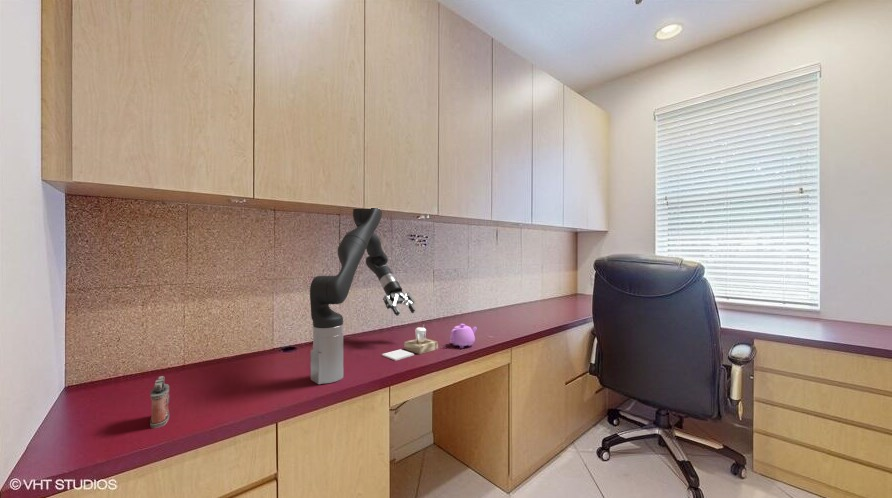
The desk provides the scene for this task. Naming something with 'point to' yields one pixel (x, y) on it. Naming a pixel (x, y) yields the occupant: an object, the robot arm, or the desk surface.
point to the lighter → (159, 403)
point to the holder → (421, 346)
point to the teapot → (463, 335)
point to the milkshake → (420, 335)
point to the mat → (397, 354)
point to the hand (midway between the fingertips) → (406, 313)
